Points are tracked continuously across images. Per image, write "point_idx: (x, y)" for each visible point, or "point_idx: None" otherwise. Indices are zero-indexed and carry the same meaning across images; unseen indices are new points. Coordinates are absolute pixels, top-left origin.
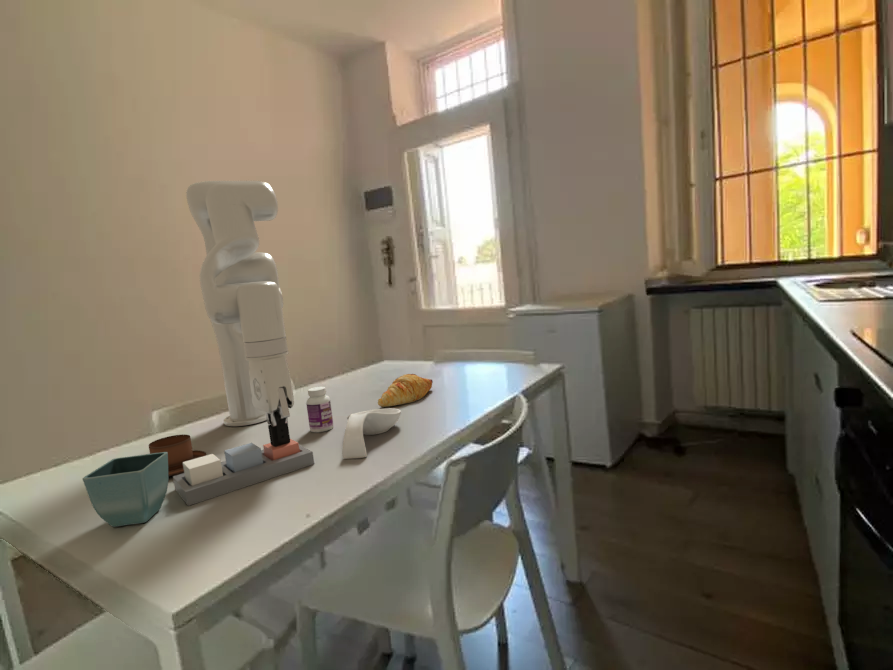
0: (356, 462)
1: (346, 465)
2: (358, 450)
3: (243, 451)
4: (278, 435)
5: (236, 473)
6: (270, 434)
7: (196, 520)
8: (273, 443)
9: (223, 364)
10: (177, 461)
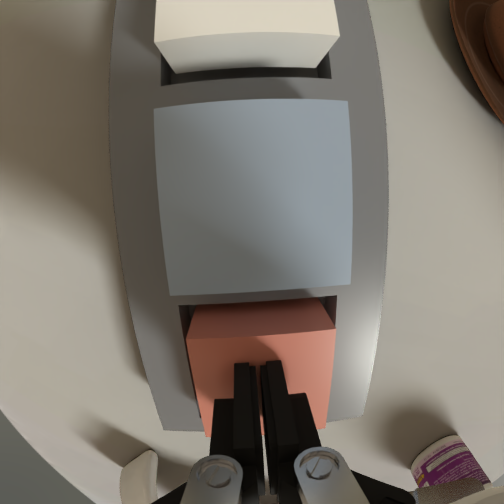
0: (107, 448)
1: (101, 431)
2: (124, 477)
3: (196, 190)
4: (213, 422)
5: (139, 126)
6: (270, 402)
7: (29, 22)
8: (235, 372)
9: None
10: (496, 35)
